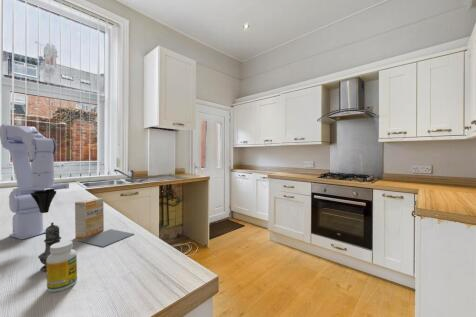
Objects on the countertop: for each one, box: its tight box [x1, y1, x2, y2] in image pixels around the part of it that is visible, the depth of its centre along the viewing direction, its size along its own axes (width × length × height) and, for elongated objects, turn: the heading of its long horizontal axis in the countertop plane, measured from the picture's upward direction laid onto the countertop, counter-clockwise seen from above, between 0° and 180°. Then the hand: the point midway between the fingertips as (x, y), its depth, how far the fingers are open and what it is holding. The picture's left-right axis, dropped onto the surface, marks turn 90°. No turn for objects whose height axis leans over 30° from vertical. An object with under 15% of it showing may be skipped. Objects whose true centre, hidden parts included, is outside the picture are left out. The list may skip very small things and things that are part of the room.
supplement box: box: [74, 197, 105, 239], centre depth 81 cm, size 8×5×13 cm, turn 168°
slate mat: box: [77, 228, 135, 248], centre depth 77 cm, size 13×12×1 cm
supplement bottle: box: [46, 240, 78, 293], centre depth 49 cm, size 5×5×10 cm
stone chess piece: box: [37, 222, 62, 273], centre depth 57 cm, size 6×6×12 cm
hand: (44, 212), depth 73 cm, fingers closed
